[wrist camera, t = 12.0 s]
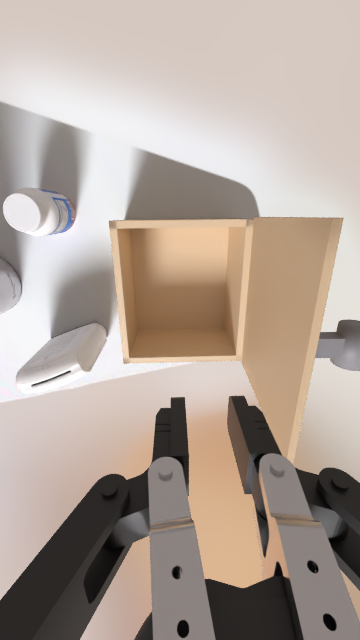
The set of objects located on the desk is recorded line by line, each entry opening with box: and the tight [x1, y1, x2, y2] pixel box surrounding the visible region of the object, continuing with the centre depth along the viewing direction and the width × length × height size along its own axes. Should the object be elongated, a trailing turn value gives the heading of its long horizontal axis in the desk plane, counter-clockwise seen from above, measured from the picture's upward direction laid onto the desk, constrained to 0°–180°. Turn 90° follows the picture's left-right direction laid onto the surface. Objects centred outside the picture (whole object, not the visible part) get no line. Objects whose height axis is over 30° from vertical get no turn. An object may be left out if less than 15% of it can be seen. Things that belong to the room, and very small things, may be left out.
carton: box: [109, 219, 254, 363], centre depth 37 cm, size 16×18×10 cm
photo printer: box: [16, 323, 107, 393], centre depth 39 cm, size 10×4×12 cm, turn 111°
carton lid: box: [242, 217, 360, 464], centre depth 25 cm, size 16×18×6 cm
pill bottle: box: [3, 188, 75, 236], centre depth 33 cm, size 6×5×10 cm
